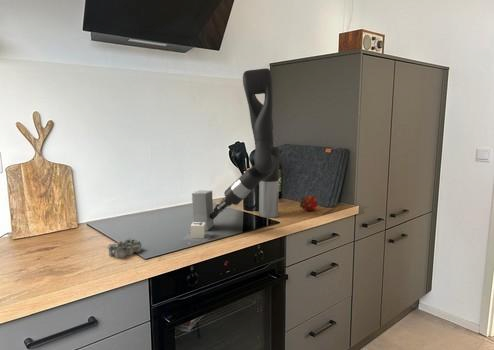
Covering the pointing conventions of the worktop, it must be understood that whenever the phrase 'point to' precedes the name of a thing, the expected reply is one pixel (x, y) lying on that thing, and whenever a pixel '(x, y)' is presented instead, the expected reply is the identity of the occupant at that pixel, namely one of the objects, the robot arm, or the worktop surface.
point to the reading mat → (207, 236)
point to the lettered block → (198, 230)
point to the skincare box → (203, 208)
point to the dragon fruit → (308, 203)
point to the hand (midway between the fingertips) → (211, 217)
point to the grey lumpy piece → (124, 248)
